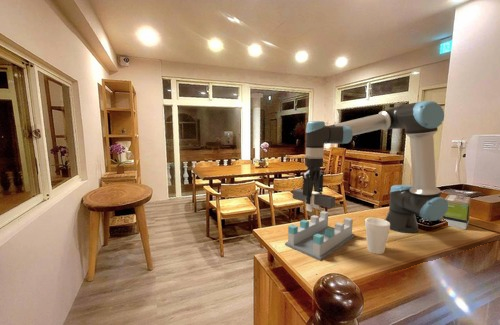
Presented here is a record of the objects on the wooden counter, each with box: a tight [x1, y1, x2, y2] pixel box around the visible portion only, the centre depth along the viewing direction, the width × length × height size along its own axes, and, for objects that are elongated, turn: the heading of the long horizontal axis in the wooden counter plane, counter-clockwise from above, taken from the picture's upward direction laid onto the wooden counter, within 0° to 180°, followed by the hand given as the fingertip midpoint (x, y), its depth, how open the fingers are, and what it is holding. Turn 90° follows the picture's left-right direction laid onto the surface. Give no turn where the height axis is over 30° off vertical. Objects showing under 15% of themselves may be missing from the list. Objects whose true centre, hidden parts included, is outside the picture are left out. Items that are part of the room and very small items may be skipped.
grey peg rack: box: [284, 210, 356, 262], centre depth 109 cm, size 18×32×9 cm, turn 132°
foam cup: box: [364, 217, 391, 255], centre depth 99 cm, size 10×9×13 cm
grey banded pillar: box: [292, 188, 336, 209], centre depth 102 cm, size 19×5×5 cm, turn 42°
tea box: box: [442, 194, 472, 231], centre depth 127 cm, size 15×10×15 cm, turn 133°
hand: (312, 209), depth 102 cm, fingers closed on grey banded pillar, 5 cm apart
